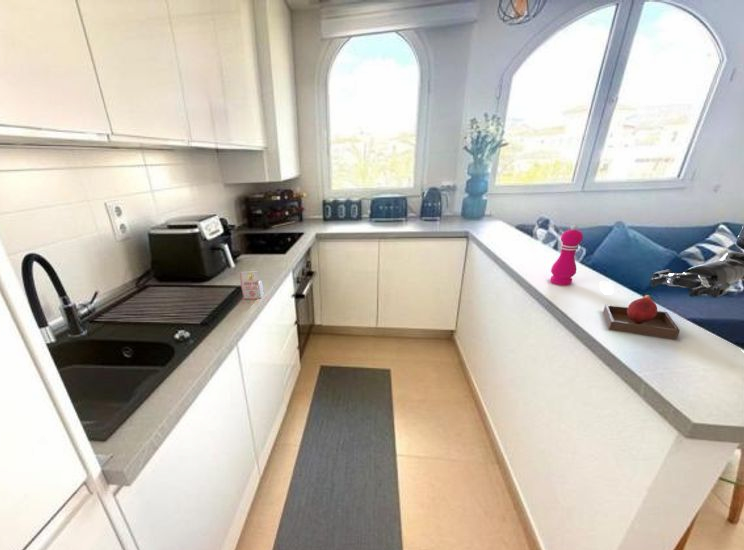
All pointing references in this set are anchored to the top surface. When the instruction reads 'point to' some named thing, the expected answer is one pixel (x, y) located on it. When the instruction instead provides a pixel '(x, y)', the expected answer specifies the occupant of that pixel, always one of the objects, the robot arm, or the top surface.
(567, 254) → the pepper mill
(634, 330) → the serving tray
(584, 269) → the top surface
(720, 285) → the robot arm
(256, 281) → the pink carton box
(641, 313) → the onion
